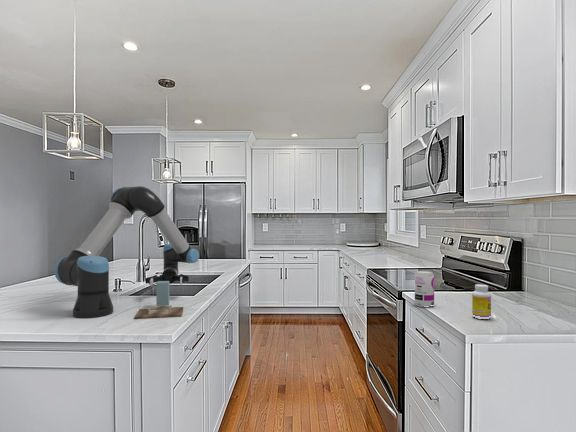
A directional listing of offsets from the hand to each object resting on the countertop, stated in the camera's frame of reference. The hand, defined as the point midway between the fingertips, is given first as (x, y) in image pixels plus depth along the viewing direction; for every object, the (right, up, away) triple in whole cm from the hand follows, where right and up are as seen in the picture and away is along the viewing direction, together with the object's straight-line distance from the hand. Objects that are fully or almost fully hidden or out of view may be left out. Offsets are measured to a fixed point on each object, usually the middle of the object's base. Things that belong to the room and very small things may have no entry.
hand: (165, 282), depth 190 cm
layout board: (+5, -9, -23) cm, 25 cm away
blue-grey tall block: (+2, -9, -10) cm, 14 cm away
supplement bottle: (+133, -9, -32) cm, 137 cm away
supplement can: (+118, -9, -10) cm, 119 cm away
